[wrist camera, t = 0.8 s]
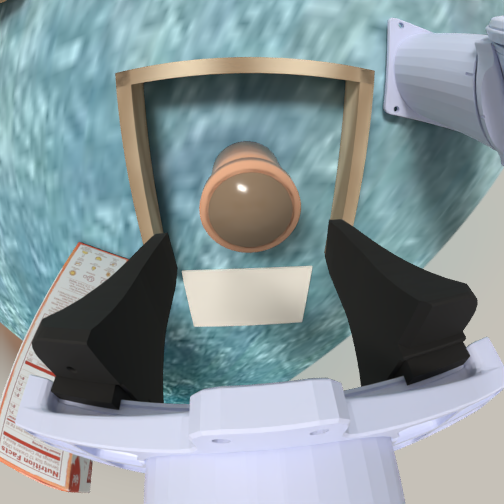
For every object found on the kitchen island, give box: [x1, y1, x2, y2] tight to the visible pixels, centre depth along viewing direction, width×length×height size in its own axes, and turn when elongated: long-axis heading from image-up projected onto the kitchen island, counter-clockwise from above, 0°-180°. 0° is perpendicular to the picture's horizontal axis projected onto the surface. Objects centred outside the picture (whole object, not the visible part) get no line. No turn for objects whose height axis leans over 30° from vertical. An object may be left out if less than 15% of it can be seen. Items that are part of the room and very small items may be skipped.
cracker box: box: [0, 242, 129, 493], centre depth 18 cm, size 14×6×21 cm, turn 155°
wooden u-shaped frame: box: [115, 57, 375, 253], centre depth 19 cm, size 16×16×2 cm
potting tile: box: [182, 266, 312, 327], centre depth 28 cm, size 12×8×1 cm, turn 90°
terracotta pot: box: [199, 141, 301, 253], centre depth 18 cm, size 6×6×6 cm
